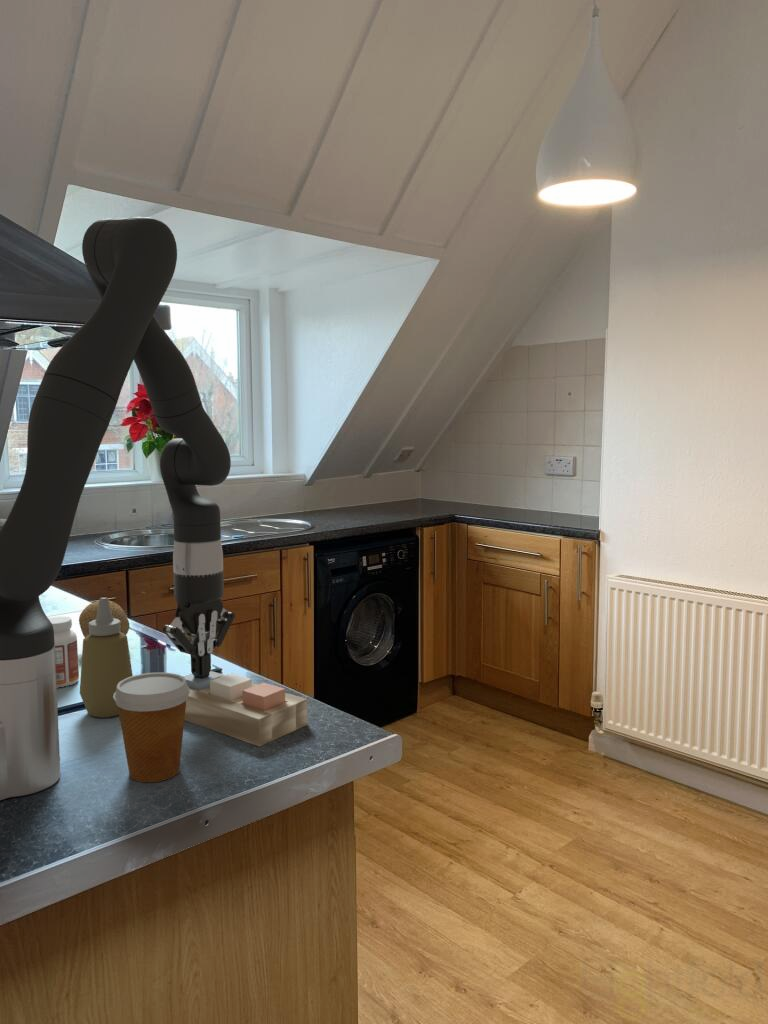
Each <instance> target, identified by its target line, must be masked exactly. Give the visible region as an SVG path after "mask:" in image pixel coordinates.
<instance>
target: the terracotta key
mask: <svg viewBox="0 0 768 1024" xmlns="http://www.w3.org/2000/svg"><path fill="white" fill-rule="evenodd" d="M285 693H286V688H285V687H281V686H277V685H273V684H271V683H270V684H269V683H267V682H261V683H259V684H257V685H256V686H253V687H250V688H248V689H245V690H242V695H243V705H245V706H248V707H252V708H255V709H258V710H261V711H266V710H269V709H271V708H274V707H276V706H279V705H281V704H284V703H285Z"/></svg>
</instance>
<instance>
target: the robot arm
mask: <svg viewBox="0 0 768 1024" xmlns="http://www.w3.org/2000/svg"><path fill="white" fill-rule="evenodd" d="M174 235H175V234H173V231H172V230H171V228H170V227H169V226H168V225H167V224H166V223H164V222H163V221H161V220H159V219H158V218H153V217H148V216H147V217H146V216H134V217H133V216H131V217H128V216H127V217H111V218H103V219H102V218H101V219H98V220H96V221H94V222H92V224H90V225H89V226H88V227H87V229H86V231H85V232H84V235H83V237H82V243H81V244H82V246H81V249H82V251H81V253H82V257H83V261H84V265H85V267H86V270H87V272H88V275H89V277H90V279H91V281H92V282H93V285H94V287H95V288H96V290H97V292H98V294H99V296H100V297H101V301H100V303H99V304H98V306H97V308H96V309H95V311H94V312H93V313H92V315H91V316H90V317H89V318H88V319H87V321H86V322H84V324H83V325H82V326H81V327H80V328H78V330H77V331H76V332H75V333H74V334H73V335H72V336H71V337H70V338H69V339H68V340H67V341H66V342H65V343H64V344H63V345H62V346H61V348H60V349H58V351H57V352H56V353H55V355H54V356H53V358H52V359H51V361H50V362H49V363H48V365H47V368H46V370H45V372H44V375H43V376H42V380H41V381H40V385H39V386H38V389H37V391H36V395H35V397H34V400H32V401H33V402H32V405H31V408H30V412H29V416H28V423H27V434H26V435H27V436H26V437H27V441H26V442H27V447H26V449H27V451H26V465H25V466H26V467H25V471H24V472H25V473H24V476H23V481H22V484H21V487H20V489H19V492H18V494H17V497H16V499H15V501H14V503H13V505H12V508H11V510H10V512H9V514H8V516H7V518H0V801H2V800H5V799H8V798H15V797H23V796H28V795H31V794H35V793H39V792H41V791H43V790H46V789H48V788H49V787H52V786H53V785H55V784H56V783H57V782H58V781H59V779H61V755H60V753H61V752H60V733H59V732H60V731H59V715H58V714H59V712H58V710H59V709H58V690H57V689H58V688H57V686H56V663H55V645H54V644H55V643H54V629H53V625H52V623H51V622H50V620H49V619H48V618H49V617H48V616H47V615H46V612H45V611H44V610H43V607H42V604H41V599H40V596H41V595H43V594H44V593H45V592H46V591H48V590H49V589H50V587H51V586H52V585H53V584H54V582H55V581H56V579H57V577H58V575H59V573H60V571H61V568H62V566H63V561H64V559H65V555H66V553H67V547H68V544H69V540H70V537H71V533H72V528H73V525H74V521H75V517H76V513H77V510H78V508H79V507H78V506H79V503H80V501H81V500H80V499H81V497H82V494H83V491H84V488H85V486H86V484H87V481H88V478H89V476H90V475H91V471H92V469H93V466H94V463H95V460H96V458H97V455H98V452H99V449H100V446H101V444H102V441H103V439H104V437H105V435H106V432H107V430H108V428H109V425H110V423H111V420H112V417H113V416H114V413H115V409H116V407H117V404H118V401H119V399H120V395H121V392H122V390H123V386H124V384H125V381H126V378H127V376H128V373H129V371H130V369H131V367H132V365H133V362H134V364H135V366H136V369H137V370H138V373H139V376H140V377H141V381H142V384H143V386H144V388H145V392H146V395H147V398H148V400H149V401H148V402H149V403H150V406H151V409H152V412H153V415H154V418H155V421H156V423H157V424H158V427H159V428H160V429H161V430H162V431H163V432H165V433H169V434H172V435H174V436H177V437H178V438H173V439H171V440H169V441H168V442H167V443H166V444H165V445H164V447H163V448H162V451H161V453H160V457H159V468H160V469H159V470H160V475H161V478H162V482H163V485H164V488H165V491H166V495H167V498H168V501H169V502H168V503H169V504H170V508H171V512H172V514H173V515H172V516H173V550H172V551H173V552H172V567H173V570H172V571H173V595H174V596H173V597H174V599H175V602H176V609H175V610H174V617H175V618H173V621H171V623H170V624H165V625H164V626H163V627H162V631H163V633H164V634H165V635H166V636H167V638H168V639H169V640H170V641H171V643H172V644H173V645H174V646H175V647H176V648H177V650H178V651H179V652H180V653H184V654H187V655H190V672H191V674H193V675H194V677H196V678H200V679H202V678H205V677H208V676H209V672H210V671H212V670H211V669H212V658H211V657H212V653H213V651H214V649H215V648H220V647H221V646H222V643H223V642H224V639H225V637H226V635H227V634H228V631H229V629H230V627H231V625H232V623H233V621H234V619H235V617H236V616H235V615H236V614H235V613H234V612H231V611H228V610H227V609H225V608H224V603H223V600H222V598H223V597H224V594H225V589H224V588H225V585H224V579H225V578H224V552H223V545H222V539H221V538H222V532H221V531H222V530H221V528H222V527H221V509H220V506H219V505H218V503H216V502H214V501H212V500H209V499H207V498H204V497H202V496H201V495H200V494H199V492H198V489H197V486H206V487H207V486H210V487H211V486H218V485H220V484H222V483H223V482H225V480H226V479H227V478H228V476H229V474H230V472H231V465H232V463H231V462H232V459H231V454H230V451H229V448H228V445H227V443H226V441H225V439H224V438H223V437H222V434H221V433H220V431H219V430H218V428H217V427H216V425H215V424H214V422H213V421H212V419H211V417H210V416H209V414H208V413H207V412H206V410H205V408H204V405H203V401H202V400H201V395H200V393H199V389H198V385H197V383H196V379H195V377H194V374H193V372H192V370H191V367H190V365H189V364H188V361H187V359H186V358H185V356H184V355H183V354H182V352H181V351H180V349H179V348H178V347H177V346H176V345H177V344H175V343H174V342H173V340H172V339H171V338H170V336H169V335H168V333H167V332H166V331H165V330H164V328H163V327H162V325H161V324H160V322H159V320H157V317H156V316H155V313H156V311H157V309H158V307H159V305H160V303H161V302H162V300H163V297H164V296H165V294H166V292H167V290H168V288H169V285H170V284H171V281H172V279H173V276H174V275H175V271H176V267H177V260H178V248H177V247H178V246H177V242H176V238H175V236H174Z"/></svg>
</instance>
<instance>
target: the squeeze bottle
mask: <svg viewBox="0 0 768 1024" xmlns="http://www.w3.org/2000/svg"><path fill="white" fill-rule="evenodd" d="M108 600H109V599H108V597H99V600H98V601H99V606H98V611H97V616H96V620H93V621H91V622H89V635H88V636H86V637H84V638H83V639H82V652H81V663H80V665H81V667H80V678H79V679H80V680H79V681H80V683H79V695H80V699H81V700H82V702H83V704H84V707H85V710H86V712H87V714H88V715H89V716H91V717H94V718H111V717H117V716H119V711H118V706H117V705H116V702H115V700H114V699H113V695H114V693H115V692H116V688H117V684H118V683H119V682H120V681H122V680H124V679H126V678H128V677H131V676H134V674H133V668H132V661H131V655H130V654H131V653H130V647H129V639H128V636H127V635H125V634H124V633H122V632H120V631H121V625H120V620H119V619H115V618H113V616H112V612H111V608H110V605H109V601H110V600H109V601H108Z"/></svg>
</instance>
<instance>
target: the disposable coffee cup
mask: <svg viewBox="0 0 768 1024" xmlns="http://www.w3.org/2000/svg"><path fill="white" fill-rule="evenodd" d="M189 693H190V688H189V686H187V682H186V679H185V678H184V677H183V675H180V674H177V673H173V672H165V671H164V672H161V671H160V672H145V673H139V674H135V675H133V676H131V677H128V678H126V679H124V680H122V681H120V682H119V683H118V684H117V688H116V692H115V693H114V695H113V699H114V700H115V702H116V705H117V706H118V711H119V715H118V716H119V722H120V727H121V731H122V732H121V734H122V739H123V745H124V751H125V757H126V762H127V768H128V774H129V777H130V778H131V779H132V780H134V781H136V782H140V783H156V782H162V781H166V780H169V779H171V778H173V777H175V776H176V775H177V774H178V773H179V772H180V764H181V758H182V747H183V737H184V728H185V720H184V718H185V710H186V700H187V698H188V695H189Z"/></svg>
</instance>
